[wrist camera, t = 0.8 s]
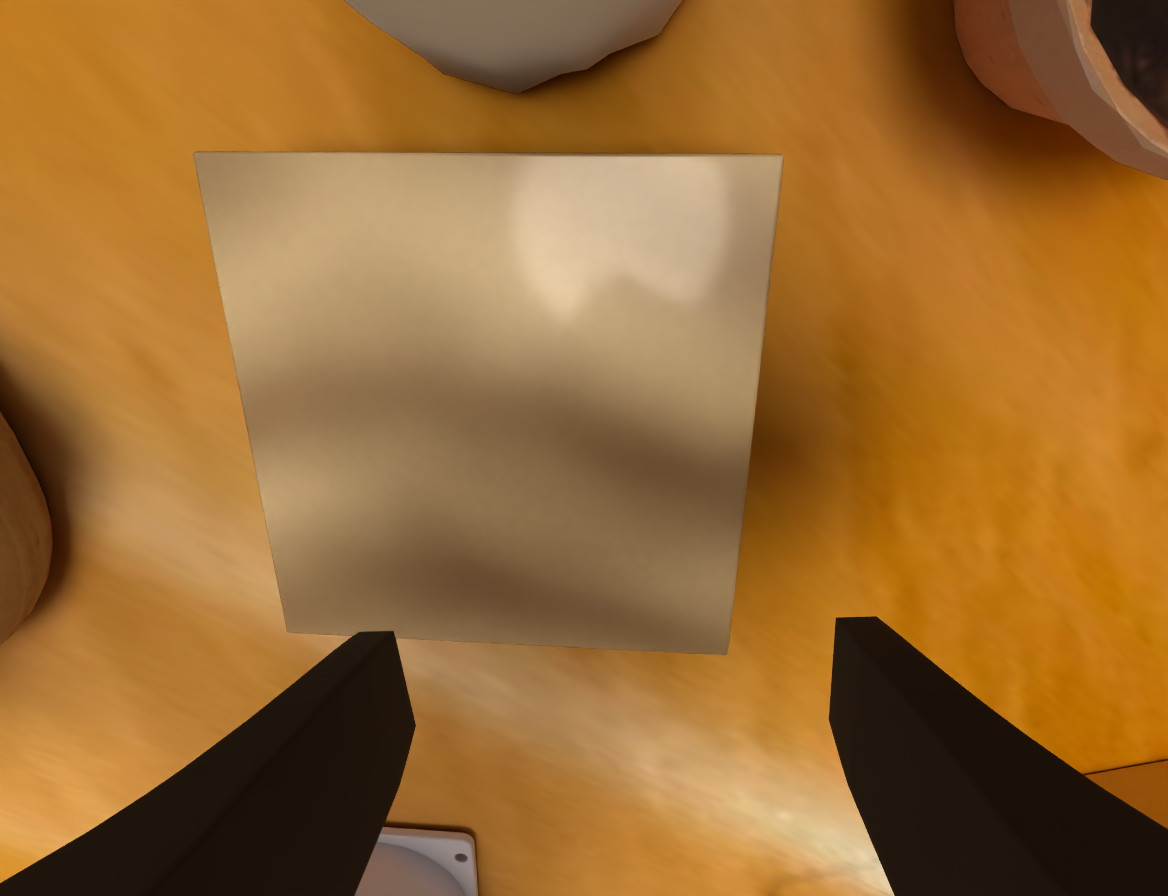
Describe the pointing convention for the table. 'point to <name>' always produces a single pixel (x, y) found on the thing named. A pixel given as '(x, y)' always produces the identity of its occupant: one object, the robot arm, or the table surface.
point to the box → (499, 386)
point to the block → (1139, 788)
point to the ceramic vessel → (20, 535)
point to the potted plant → (1078, 68)
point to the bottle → (516, 34)
